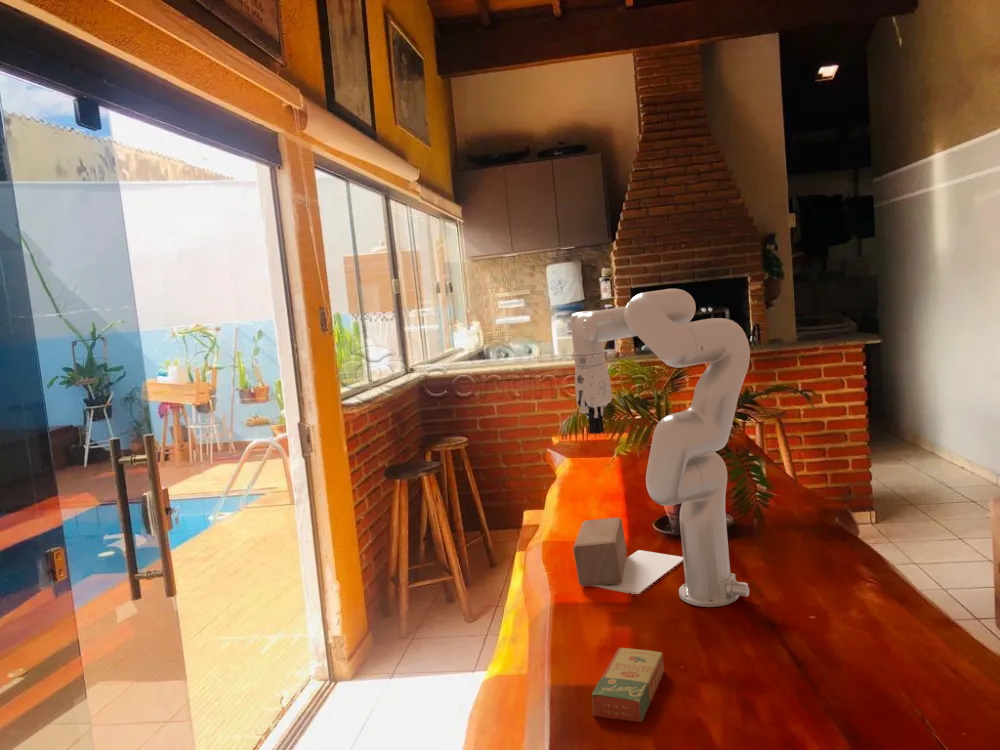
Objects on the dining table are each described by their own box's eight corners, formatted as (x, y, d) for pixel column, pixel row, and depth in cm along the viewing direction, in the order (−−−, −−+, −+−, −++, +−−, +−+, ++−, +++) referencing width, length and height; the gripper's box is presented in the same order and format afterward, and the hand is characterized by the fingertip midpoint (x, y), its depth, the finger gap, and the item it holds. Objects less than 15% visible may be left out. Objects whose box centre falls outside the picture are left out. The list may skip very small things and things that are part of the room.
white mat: (685, 559, 184) (685, 557, 183) (638, 595, 167) (638, 592, 167) (638, 552, 192) (638, 549, 192) (589, 585, 175) (589, 582, 175)
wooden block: (615, 541, 170) (621, 515, 189) (571, 545, 172) (581, 519, 192) (622, 584, 171) (627, 554, 190) (579, 588, 173) (588, 558, 192)
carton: (665, 673, 134) (663, 651, 134) (642, 725, 120) (640, 700, 120) (620, 667, 138) (618, 645, 138) (592, 717, 124) (589, 693, 123)
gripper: (585, 365, 181) (593, 440, 183) (618, 355, 192) (625, 426, 195) (560, 365, 186) (567, 438, 188) (593, 356, 197) (600, 425, 200)
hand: (596, 432), depth 192 cm, fingers closed
